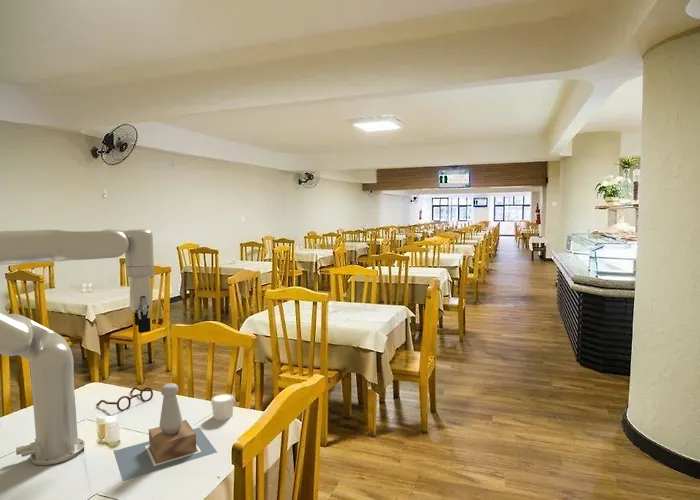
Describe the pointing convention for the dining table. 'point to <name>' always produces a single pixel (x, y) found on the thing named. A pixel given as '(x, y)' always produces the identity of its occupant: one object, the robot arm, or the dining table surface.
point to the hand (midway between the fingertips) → (142, 328)
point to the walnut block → (172, 442)
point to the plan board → (144, 462)
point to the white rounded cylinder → (222, 406)
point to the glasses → (130, 398)
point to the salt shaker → (170, 410)
